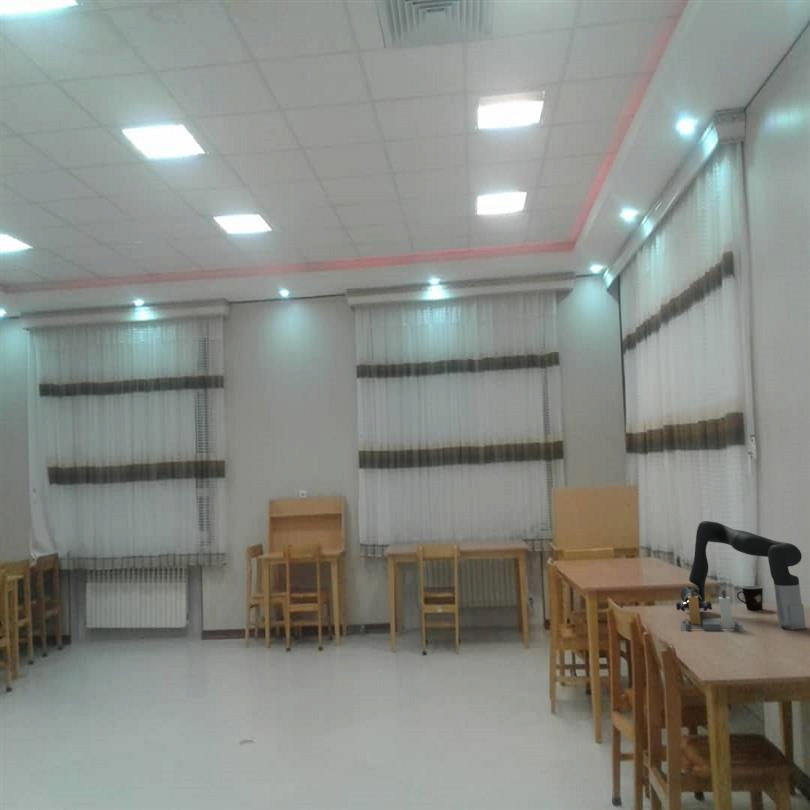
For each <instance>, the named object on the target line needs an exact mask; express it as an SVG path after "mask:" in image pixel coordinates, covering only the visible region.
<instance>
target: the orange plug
mask: <svg viewBox="0 0 810 810" xmlns="http://www.w3.org/2000/svg"><path fill="white" fill-rule="evenodd" d="M690 591H691V596H688V603H689V610H688V611H689V620H690V625H702V623H701V613H700V611H699V602H698V596H694V589H690Z"/></svg>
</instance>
